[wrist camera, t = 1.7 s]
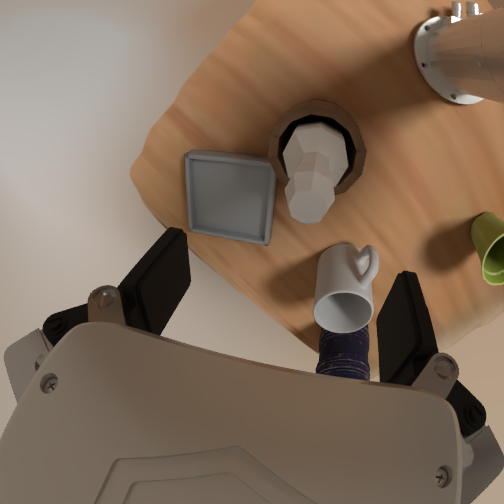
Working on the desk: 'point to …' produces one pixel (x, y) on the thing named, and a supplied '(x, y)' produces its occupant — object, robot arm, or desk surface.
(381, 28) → the desk surface
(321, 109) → the holder
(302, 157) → the faceted bottle
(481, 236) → the plant pot
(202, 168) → the tray
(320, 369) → the storage jar
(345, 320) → the mug
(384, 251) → the desk surface
